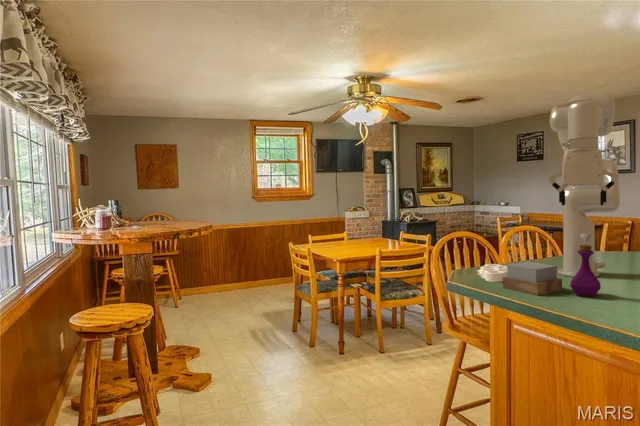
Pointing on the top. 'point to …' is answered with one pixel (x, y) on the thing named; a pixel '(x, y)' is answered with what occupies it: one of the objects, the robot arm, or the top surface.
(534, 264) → the tower top
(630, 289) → the top surface
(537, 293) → the tower bottom
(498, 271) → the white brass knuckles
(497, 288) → the top surface
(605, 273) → the top surface
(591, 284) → the perfume bottle
